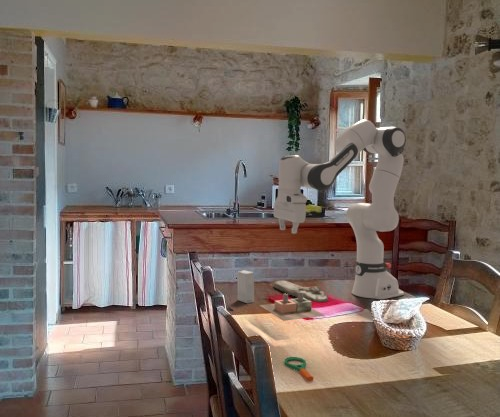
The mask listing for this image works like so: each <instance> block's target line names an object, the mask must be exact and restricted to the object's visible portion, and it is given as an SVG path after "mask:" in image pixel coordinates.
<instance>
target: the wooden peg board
mask: <svg viewBox="0 0 500 417" xmlns="http://www.w3.org/2000/svg"><path fill="white" fill-rule="evenodd" d="M282 295H283V296H282V300H283V304H286V303H288V299H289V300H291V301H293V302H295V303H297V305H296V311H294V312H286V313H281V312H280V311H278V310H276V309H275V303H268V304H260V305H259V307H261V308H263V309H265V310H266V311H267V312H270V313H271V314H273V315H274V316H275V317H276V318H278V319H280V320H282V322H283V321H292V320H297V319H307V318H316V317H321V316H325V314H324V313H322V312H320V311H318V310H316V309H314V308H313V307H312V302H313V301H312V300H308V299H306V298H303V292H298V298H297V297H295V298H289V294H286V293H283V294H282Z"/></svg>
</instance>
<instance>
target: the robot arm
mask: <svg viewBox="0 0 500 417" xmlns="http://www.w3.org/2000/svg"><path fill="white" fill-rule="evenodd" d="M406 137H407V136H406V133H405V131H404V130H403V129H402V128H400V127H397V126H383V127H382V126H381V127H379V128H376V126H375V124H374V123H373V122H372V121H371V120H369V119H368V120H367V119H361V120H359V121H357V122H355V123H353V124H351V125H350V126H348V127H347V128H345V129H344V130H343V131H342V132H340V134H339V135H338V136H337V137H336V138H335V140H334V149H335V151H336V154H334V156H332V157H331V158H330V159H329V161H327V162H324V163H309V162H307V161H306V160H304V159H303V158H301V156H300V155H297V154H291V155H290V154H289V155H284V156H282V157H281V159H280V160H279V165H278V173H277V175H278V186H277V197H276V198H275V201H274V204H273V217H274V218H275V219H276V218H277V219H278V224H279V230H281V231H285V230H286V224H285V221H288V222H292V227H291V228H290V231H291V232H290V233H291V234H293V235H294V234H297V233H298V228H299V225H300V224H301V223H302V224H303V223H304V222H305V221H306V215H307V206H306V203H307V202H308V201H307V200H308V198H307V197H306V196H305V194H303V193H302V192H301V191H302V190H301V189H302V188H306V189H312V190H316V191H321V192H322V191H326V190H328V189H330V188H331V187H332V186H333V185H334V183H335V180H336V179H337V177H338V176H339V175H340V174H341V173H342V172H343V171H344V170H346V168H347V167H348V166H349V165H350V164H351V163H352V162H353V161H354V160H355V158H357V156H358V155H359V153H361V152H362V151H363V152H364V153H367V154H370V155H374V154H375V155H378V156H377V157H378V160H377V164H376V166H375V168H374V171H373V174H372V176H371V179H370V182H369V186H368V190H369V192H370V193H371V194H372V200H371V203H369V202H368V203H367V202H357V203H352V204H350V205H349V206H348V207H347V210H346V214H345V215H346V216H345V217H346V221H347V222H348V224H349V225H350V226H351V228H352V230H353V233H354V235H355V236H354V237H355V240H356V260H355V268H354V270H355V275H354V276H355V278H354V282H353V283H354V284H353V286H352V290H351V294H352V295H353V296H357V297H360V298H366V299H367V298H368V299H375V300H376V299H377V300H386V299H389V298H396V297H400V296H404V295H405V293H404V291H403V290H401V289H400V288H399V281H398V279H397V278H396V277H394V276H393V275H392V274H391V273H390V272H388V271H387V269H391V267H392V264H391V263H388V262H385V261H384V254H385V253H384V252H385V250H384V248H385V246H384V243H383V241H382V240H381V239H380V238H379V235H378V233H377V232H380V233H381V232H382V233H383V232H391V231H393V230H395V229H396V228H397V227H398V224H399V220H400V216H399V213H398V211H397V209H396V208H395V202H394V200H395V195H396V194H395V193H396V190H397V187H398V184H399V182H400V178H401V175H402V172H403V167H404V160H405V159H404V156H403V152H404V149H405V146H406V140H407V139H406Z"/></svg>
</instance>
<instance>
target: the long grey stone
mask: <svg viewBox="0 0 500 417" xmlns="http://www.w3.org/2000/svg"><path fill="white" fill-rule="evenodd" d="M273 287H274V289H277V290H279V291H281V292H282V293H284V294H286V293H287V294H288V296H290V295H292V296H291V297H294V296H295V298H298V292H303V298H305V299H307V300H309V301H311V302H318V303H326V302H329V296H328V295H327V293H326V292H325V291H322V289H321V287H320V286H308V287H307V286H302V285H299V284H297V283H292V282H290V281H288V280H282V279H281V280H277V281H276V280H275V281H274V283H273Z"/></svg>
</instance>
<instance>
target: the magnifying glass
mask: <svg viewBox="0 0 500 417" xmlns="http://www.w3.org/2000/svg"><path fill="white" fill-rule="evenodd" d="M292 361H293V362H296V361H297V362H300V363H301V364H292V363H289V362H292ZM283 363H284V365H285V366H286V367H288V368H289V369H292V370H294V369H295V370H294V371H296V370H297V371H296V372H298V371H299V372H298V373H299V374H300V373H301V374H300V375H301V376H302V377H303V378H304V379H305V380H306V381H307V382H312V381H314V376H312V374H311V373H310V372H308V370H307V369H306V366H307V362H306V360H305V359H303V358H302V357H298V356H288V357H286V358H284V362H283Z"/></svg>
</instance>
